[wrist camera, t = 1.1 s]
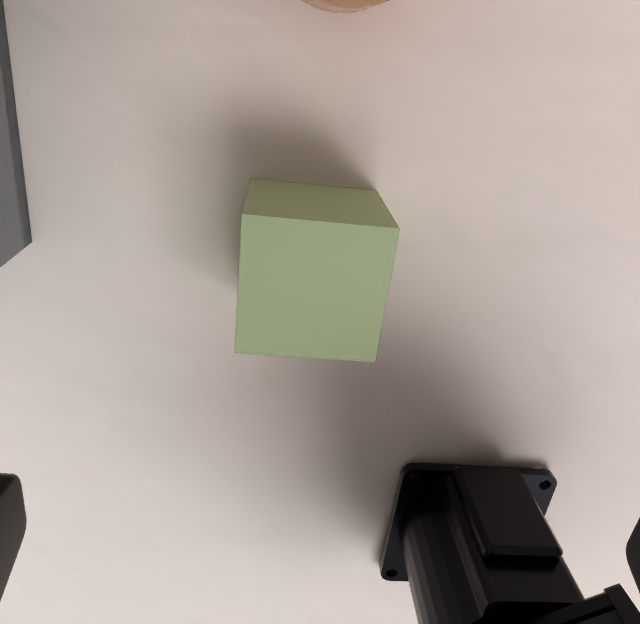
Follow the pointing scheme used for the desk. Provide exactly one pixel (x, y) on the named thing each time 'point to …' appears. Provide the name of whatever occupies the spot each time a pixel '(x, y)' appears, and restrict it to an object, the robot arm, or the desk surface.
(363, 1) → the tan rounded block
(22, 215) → the bin
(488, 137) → the desk surface
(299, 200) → the green block
